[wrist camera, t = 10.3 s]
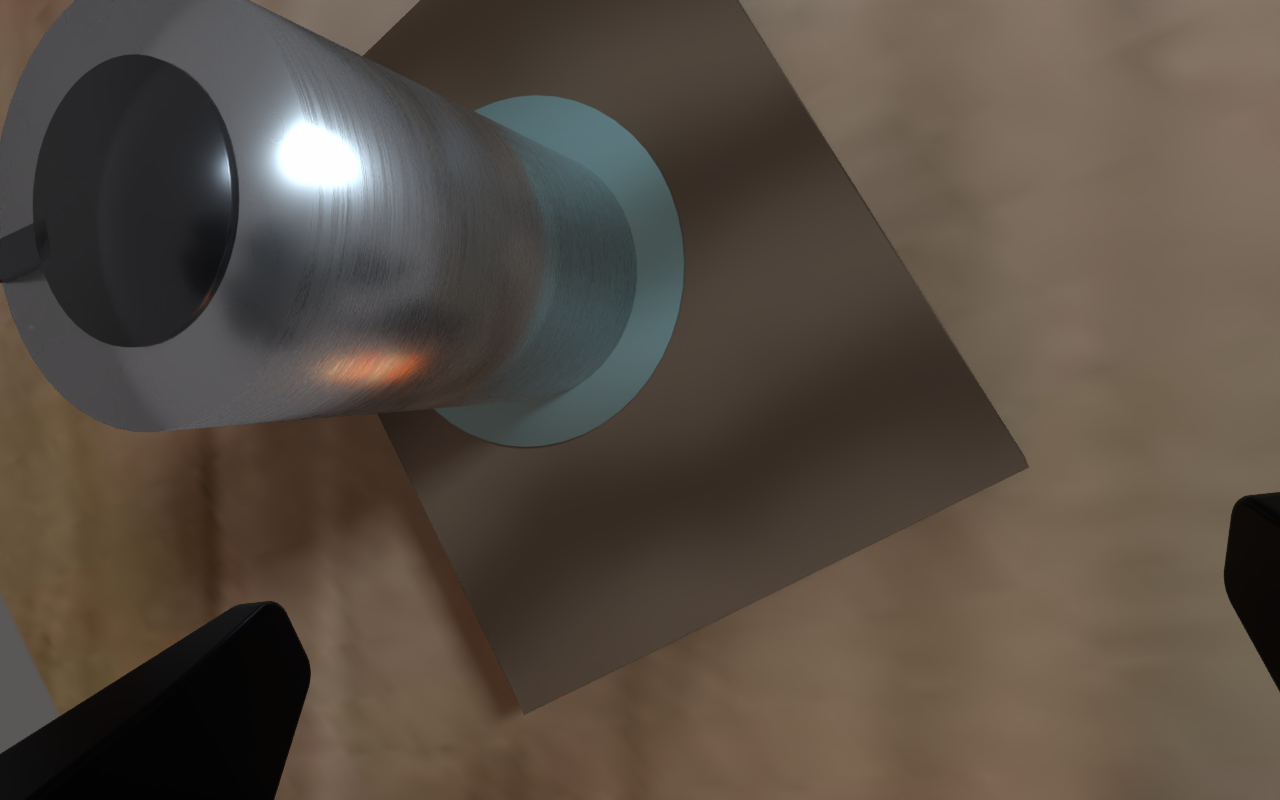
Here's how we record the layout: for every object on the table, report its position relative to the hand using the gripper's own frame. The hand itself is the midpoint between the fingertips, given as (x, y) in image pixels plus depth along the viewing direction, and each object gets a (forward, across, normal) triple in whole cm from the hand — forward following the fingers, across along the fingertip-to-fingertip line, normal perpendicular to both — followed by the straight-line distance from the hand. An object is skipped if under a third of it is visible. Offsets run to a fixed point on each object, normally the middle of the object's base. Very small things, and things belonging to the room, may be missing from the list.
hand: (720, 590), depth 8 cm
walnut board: (+15, +4, +2) cm, 16 cm away
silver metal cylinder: (+14, +5, 0) cm, 15 cm away
